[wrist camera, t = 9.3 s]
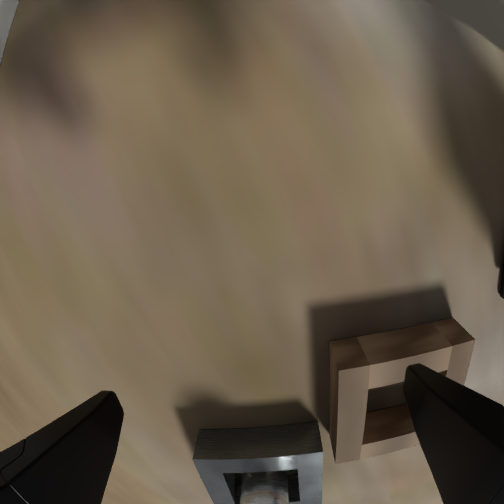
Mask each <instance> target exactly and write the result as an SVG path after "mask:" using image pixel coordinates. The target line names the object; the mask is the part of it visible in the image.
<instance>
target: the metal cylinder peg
mask: <svg viewBox="0 0 504 504" xmlns="http://www.w3.org/2000/svg"><path fill="white" fill-rule="evenodd" d="M240 504H289V498H288V477H287V470H282V471H270V472H252V473H242V484H241V498H240Z"/></svg>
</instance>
